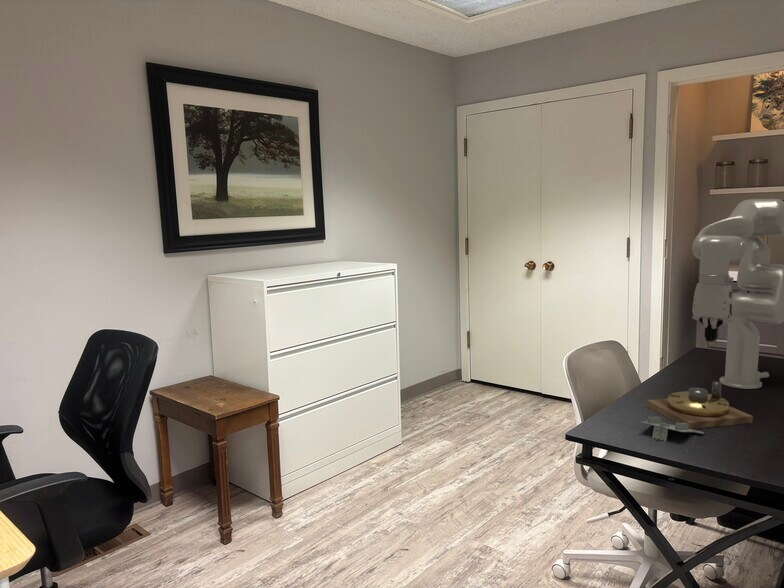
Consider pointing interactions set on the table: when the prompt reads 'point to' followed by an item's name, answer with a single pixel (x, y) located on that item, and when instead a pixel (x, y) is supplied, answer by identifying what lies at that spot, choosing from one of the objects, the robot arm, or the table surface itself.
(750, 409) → the table surface
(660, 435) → the metal bracket
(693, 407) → the rotary dial
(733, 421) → the base plate
